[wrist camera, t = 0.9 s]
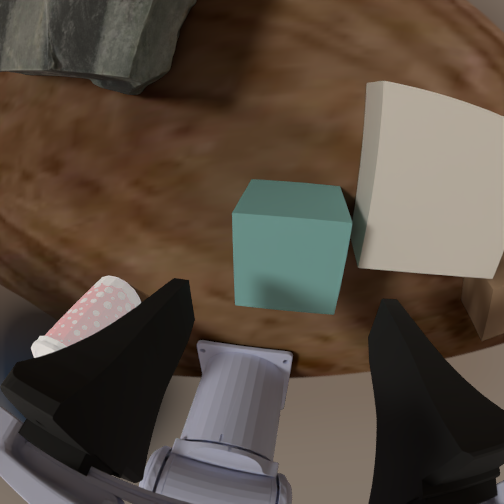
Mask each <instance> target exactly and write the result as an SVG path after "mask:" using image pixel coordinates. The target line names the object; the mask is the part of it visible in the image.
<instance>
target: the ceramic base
mask: <svg viewBox="0 0 504 504" xmlns="http://www.w3.org/2000/svg"><path fill="white" fill-rule="evenodd" d="M350 238H351V242H352V246H353V250H354V254H355V258H356V262H357V266H358V268H365V269H377V270H389V271H401V272H413V273H425V274H437V275H449V276H461V277H474V278H487V279H493V276H494V274H495V272H496V269H497V267H498V265H499V262H500V259H501V257H502V254H503V252H504V117H503V116H501V115H498V114H496V113H493V112H491V111H488V110H486V109H483V108H480V107H478V106H475V105H472V104H469V103H466V102H463V101H460V100H457V99H454V98H451V97H448V96H444V95H441V94H438V93H434V92H430V91H427V90H423V89H419V88H415V87H411V86H406V85H402V84H397V83H392V82H387V81H378V82H372V83H367V88H366V106H365V120H364V132H363V143H362V153H361V162H360V171H359V179H358V187H357V194H356V201H355V208H354V214H353V221H352V229H351V235H350Z"/></svg>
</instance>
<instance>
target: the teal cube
mask: <svg viewBox="0 0 504 504" xmlns="http://www.w3.org/2000/svg"><path fill="white" fill-rule="evenodd" d="M232 224H233V259H234V288H235V305H239V306H248V307H257V308H266V309H276V310H286V311H297V312H308V313H320V314H333V315H334V312H335V308H336V304H337V300H338V295H339V291H340V286H341V281H342V277H343V272H344V267H345V262H346V257H347V252H348V246H349V241H350V235H351V229H352V220H351V217H350V214H349V211H348V208H347V205H346V202H345V199H344V196H343V193H342V191H341V188H340V186H331V185H321V184H310V183H298V182H285V181H270V180H253V179H252V180H251V181H250V183H249V185H248V187H247V188H246V190H245V192H244V193H243V195H242V197H241V199H240V200H239V202H238V204H237V206H236V207H235V209H234V211H233V212H232Z"/></svg>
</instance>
